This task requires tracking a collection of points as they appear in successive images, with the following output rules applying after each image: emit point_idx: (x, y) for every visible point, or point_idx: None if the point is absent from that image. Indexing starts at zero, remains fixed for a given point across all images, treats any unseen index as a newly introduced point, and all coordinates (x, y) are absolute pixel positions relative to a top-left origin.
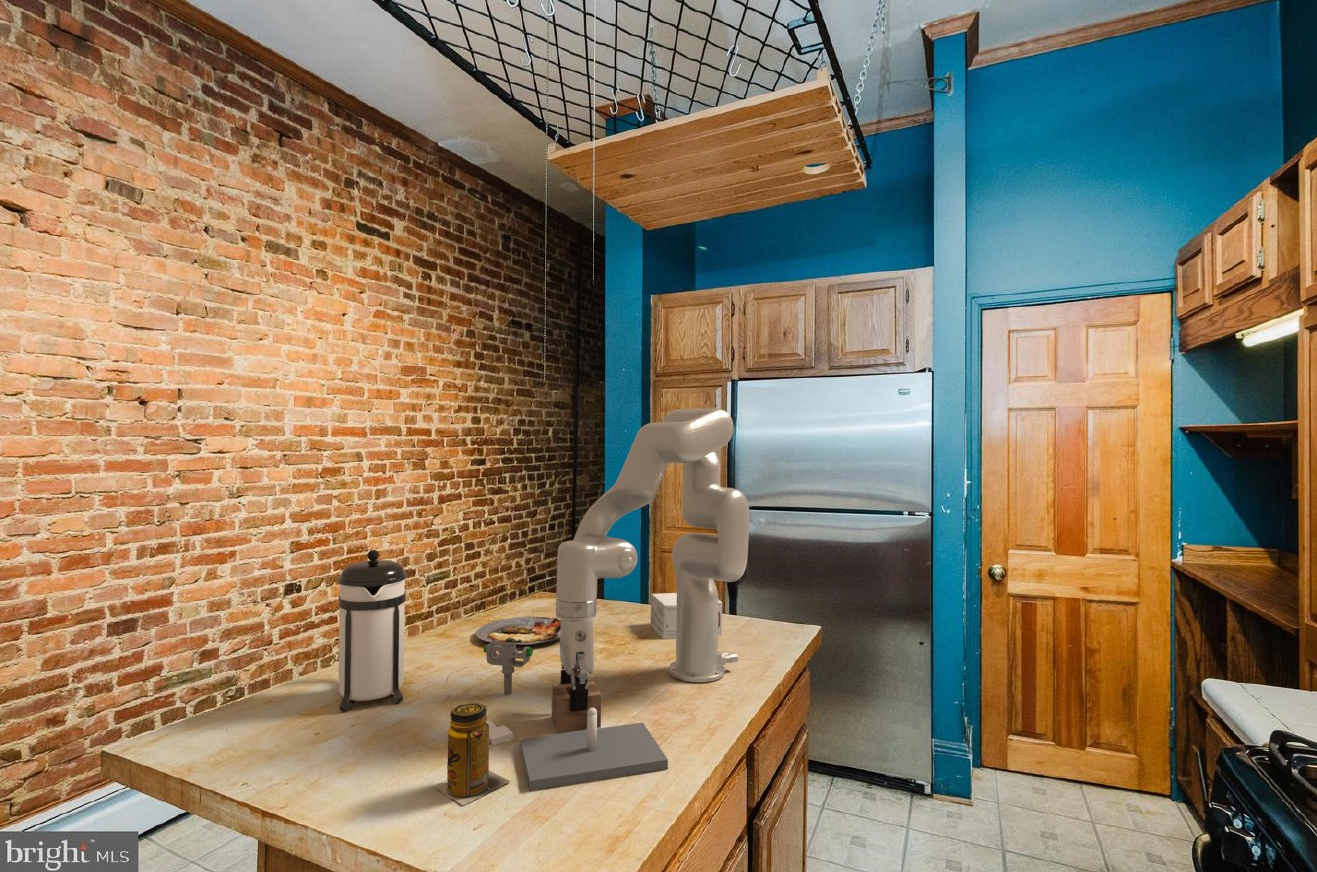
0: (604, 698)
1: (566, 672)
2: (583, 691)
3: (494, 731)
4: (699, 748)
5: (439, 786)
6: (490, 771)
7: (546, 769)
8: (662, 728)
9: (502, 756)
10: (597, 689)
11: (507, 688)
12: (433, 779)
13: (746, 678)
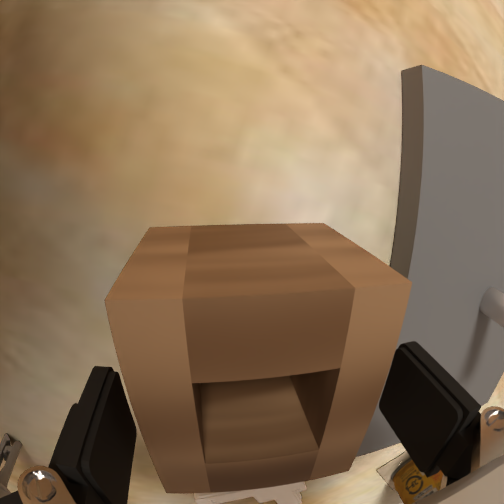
0: (20, 148)
1: (117, 502)
2: (477, 416)
3: (270, 493)
4: (496, 12)
5: (392, 487)
6: (400, 456)
7: (482, 386)
8: (396, 4)
9: (360, 457)
10: (313, 295)
11: (16, 456)
12: (369, 497)
13: None
